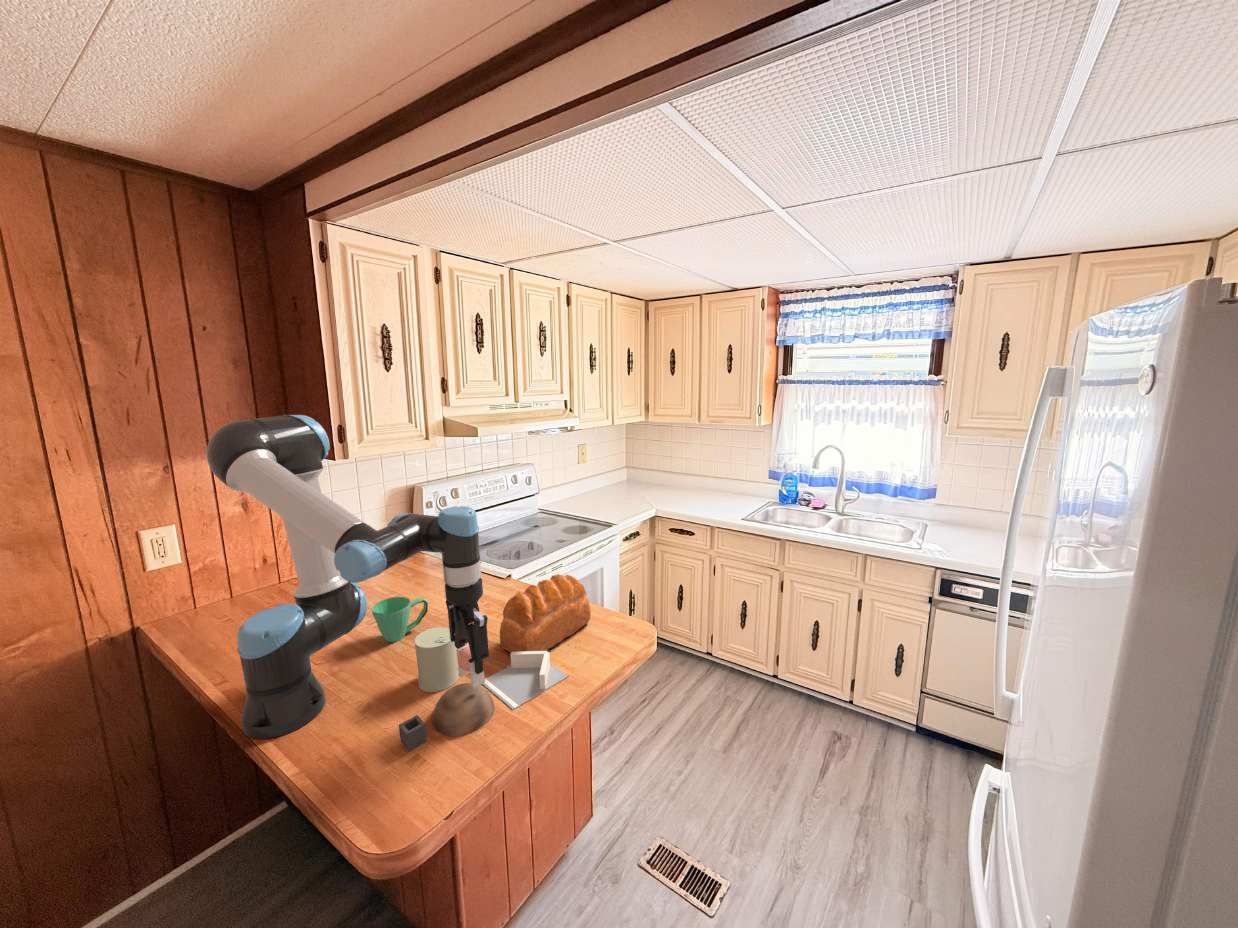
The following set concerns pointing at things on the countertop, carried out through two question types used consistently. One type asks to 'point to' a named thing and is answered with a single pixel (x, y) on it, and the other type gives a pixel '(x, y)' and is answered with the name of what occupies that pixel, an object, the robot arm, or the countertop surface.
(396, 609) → the mug
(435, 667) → the can
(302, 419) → the robot arm
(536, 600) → the bread
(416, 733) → the dark grey hollow cube
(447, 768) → the countertop surface
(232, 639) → the countertop surface
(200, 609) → the countertop surface
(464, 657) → the ball
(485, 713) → the dome
